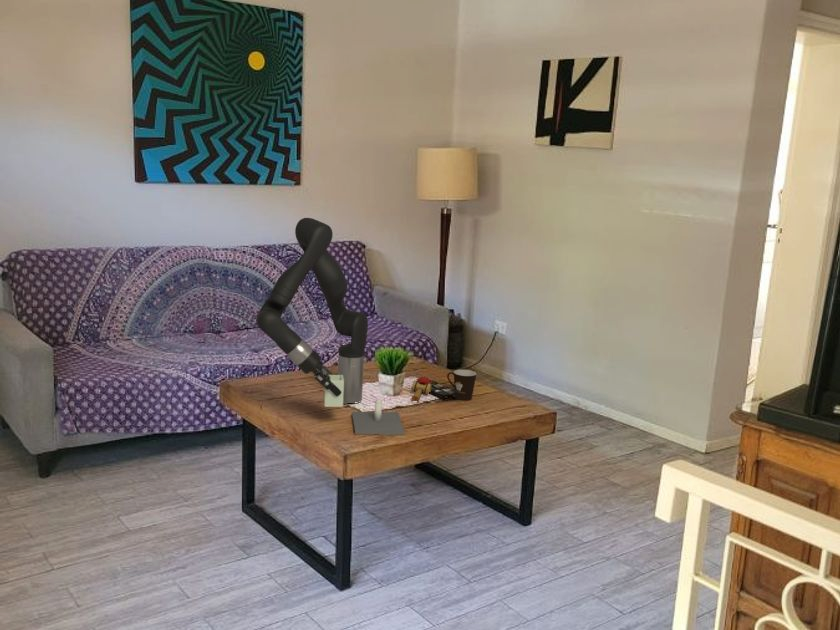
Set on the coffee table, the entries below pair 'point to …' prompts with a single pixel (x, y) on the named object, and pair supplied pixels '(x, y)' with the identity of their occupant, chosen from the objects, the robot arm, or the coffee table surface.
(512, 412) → the coffee table surface
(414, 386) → the kendama
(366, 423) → the hub stand
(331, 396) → the collar
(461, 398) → the coffee mug
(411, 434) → the coffee table surface
